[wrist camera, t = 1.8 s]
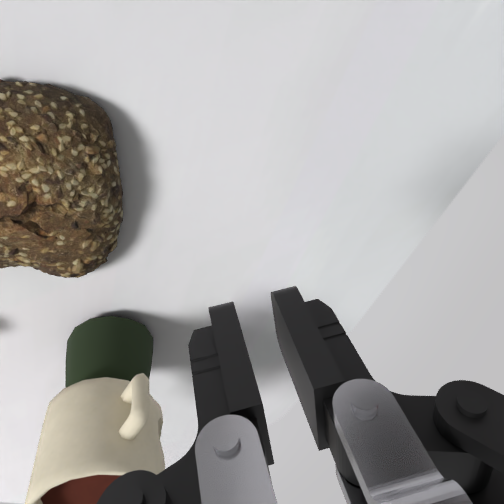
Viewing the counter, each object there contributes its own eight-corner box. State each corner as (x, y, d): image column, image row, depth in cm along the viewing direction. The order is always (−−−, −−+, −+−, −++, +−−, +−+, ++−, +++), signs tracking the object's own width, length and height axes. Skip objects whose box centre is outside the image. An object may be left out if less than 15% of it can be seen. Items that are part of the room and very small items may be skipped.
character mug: (123, 397, 36) (115, 568, 26) (38, 375, 33) (-13, 561, 22) (187, 304, 33) (208, 460, 22) (97, 271, 30) (70, 433, 19)
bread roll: (133, 96, 25) (131, 118, 20) (118, 273, 30) (113, 318, 26) (-136, 46, 21) (-206, 60, 17) (-95, 259, 27) (-139, 309, 23)
